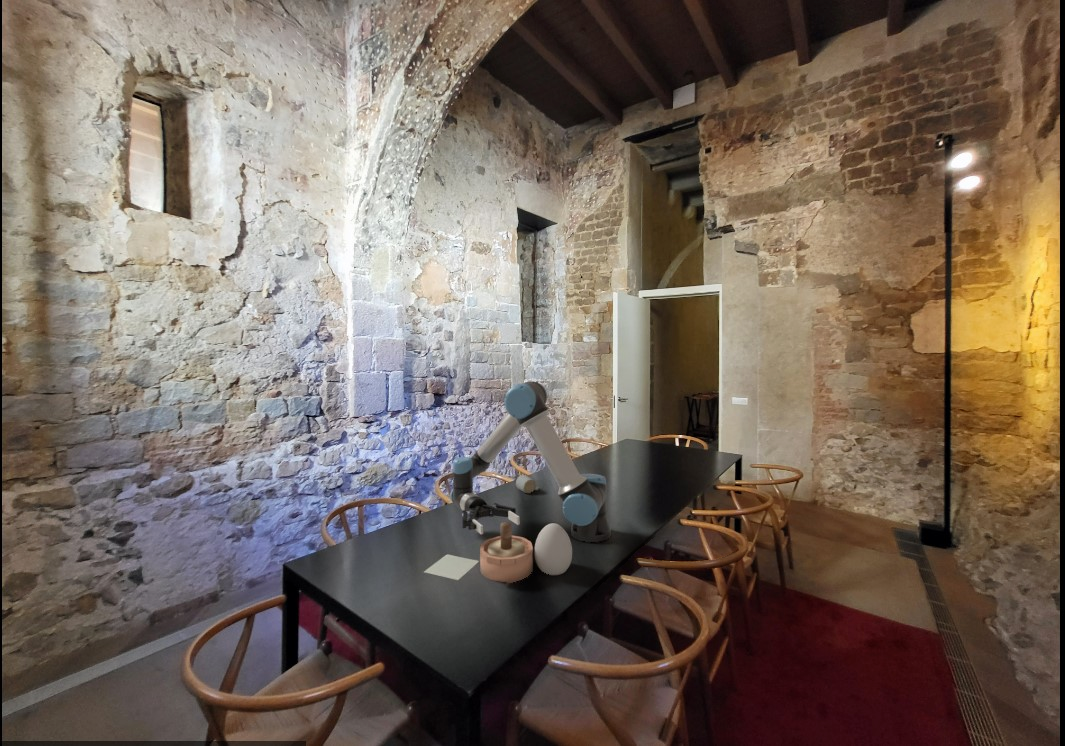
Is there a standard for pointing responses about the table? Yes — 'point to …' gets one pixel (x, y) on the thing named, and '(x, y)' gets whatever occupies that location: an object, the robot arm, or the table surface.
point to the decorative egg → (553, 550)
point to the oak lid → (506, 543)
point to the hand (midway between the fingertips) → (500, 525)
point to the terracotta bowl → (506, 563)
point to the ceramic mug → (526, 484)
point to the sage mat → (451, 567)
